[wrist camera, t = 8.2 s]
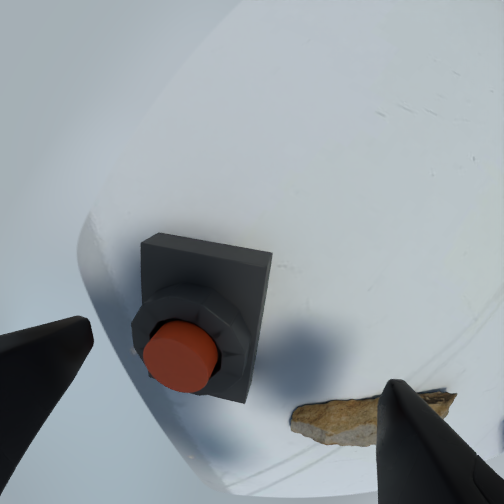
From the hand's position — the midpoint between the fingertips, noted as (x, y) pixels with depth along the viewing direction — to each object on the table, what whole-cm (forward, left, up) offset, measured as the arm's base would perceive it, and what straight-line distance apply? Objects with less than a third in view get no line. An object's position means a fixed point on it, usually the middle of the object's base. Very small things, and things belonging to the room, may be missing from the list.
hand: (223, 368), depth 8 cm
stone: (+10, -11, -10) cm, 18 cm away
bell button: (-3, -5, -6) cm, 9 cm away
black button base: (-3, -5, -10) cm, 11 cm away
